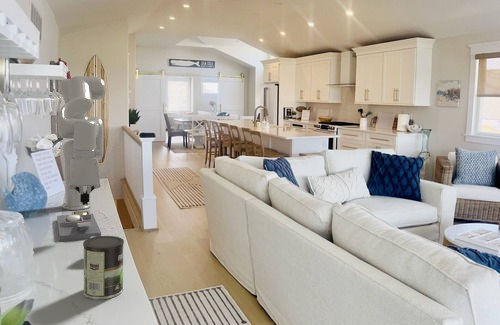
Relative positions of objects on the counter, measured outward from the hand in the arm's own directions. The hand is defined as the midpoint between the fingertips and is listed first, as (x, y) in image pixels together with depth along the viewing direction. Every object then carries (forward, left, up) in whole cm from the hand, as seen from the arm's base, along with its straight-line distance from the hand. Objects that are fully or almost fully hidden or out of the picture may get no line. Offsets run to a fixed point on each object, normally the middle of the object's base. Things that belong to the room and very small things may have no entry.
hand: (84, 204), depth 155 cm
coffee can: (+47, +1, -13) cm, 49 cm away
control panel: (-13, -1, -13) cm, 18 cm away
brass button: (-22, +1, -11) cm, 24 cm away
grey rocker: (-4, 0, -9) cm, 10 cm away
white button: (-13, -3, -9) cm, 16 cm away
